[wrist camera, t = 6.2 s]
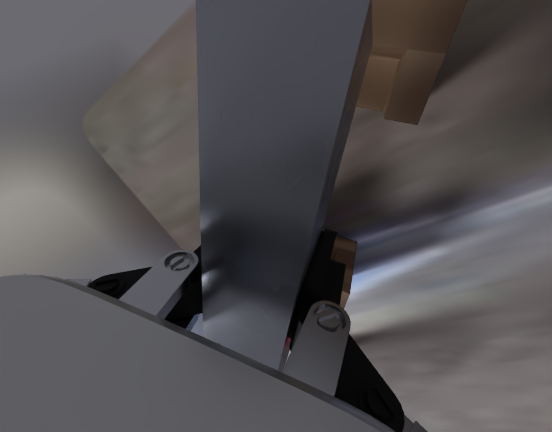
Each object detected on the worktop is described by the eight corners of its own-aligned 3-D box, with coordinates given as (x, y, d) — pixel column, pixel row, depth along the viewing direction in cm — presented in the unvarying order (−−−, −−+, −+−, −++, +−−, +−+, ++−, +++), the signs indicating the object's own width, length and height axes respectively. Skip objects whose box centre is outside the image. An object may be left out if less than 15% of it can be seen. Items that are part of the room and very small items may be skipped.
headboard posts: (315, 20, 18) (282, -17, 12) (434, 31, 16) (469, -6, 10) (275, 255, 29) (247, 301, 23) (343, 278, 27) (332, 335, 21)
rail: (283, 33, 8) (195, -19, 4) (372, 44, 8) (371, -6, 4) (247, 333, 17) (204, 416, 13) (289, 351, 16) (259, 444, 12)
